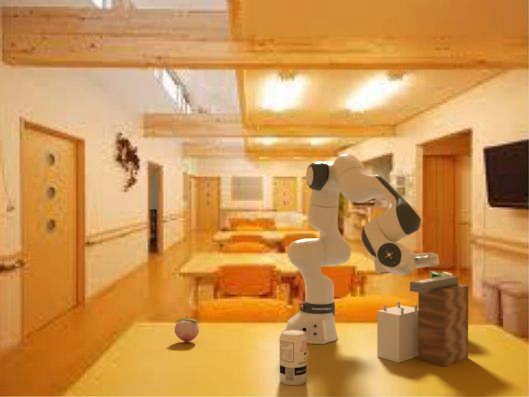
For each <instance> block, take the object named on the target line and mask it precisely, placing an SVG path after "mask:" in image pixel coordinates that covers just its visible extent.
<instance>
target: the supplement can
mask: <svg viewBox="0 0 529 397" xmlns="http://www.w3.org/2000/svg"><path fill="white" fill-rule="evenodd" d="M280 334H281V335H279V381H280V382H281V383H282V384H283V385H285V386H286V385H288V386H300V385H303V384H305V382H306V381H307V379H308V378H307V368H308V367H307V363H308V362H307V360H308V359H307V356H308V354H307V353H308V352H307V351H308V350H307V347H308V346H307V345H308V343H307V337H306V335H305V332H304V331H301V330H286V329H285V330H283V331H281V332H280Z"/></svg>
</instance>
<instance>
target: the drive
mask: <svg viewBox="0 0 529 397" xmlns="http://www.w3.org/2000/svg"><path fill="white" fill-rule="evenodd" d="M458 284H459V276H455V275H452V276H450V275H444V276H439V277H434V278H430V277H429V278H425V279H424V278H423V279H417V280H413V281H410V282H409V292H411V293H413V292H414V293H418V292H419V293H424V292H429V291H434V290H438V289H443V288H448V287H452V286H457V285H458Z"/></svg>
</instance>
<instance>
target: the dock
mask: <svg viewBox="0 0 529 397" xmlns="http://www.w3.org/2000/svg"><path fill="white" fill-rule="evenodd" d="M382 306H383V309H380V310H377V313H376V314H377V321H376V322H377V326H376V327H377V329H376V332H377V334H376V335H377V338H376V341H377V342H376V343H377V344H376V346H377V347H376V348H377V350H376V351H377V353H376V354H377V355H376V356H377V358H381V359H385V360H389V361H392V362H396V363H402V362H404V361H408V360H410V359H413V358H418V304H414V307H413V306H408V305H402V304H401V301H397V302H396V306H394V307H388V308H387V304H383V305H382Z"/></svg>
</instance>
